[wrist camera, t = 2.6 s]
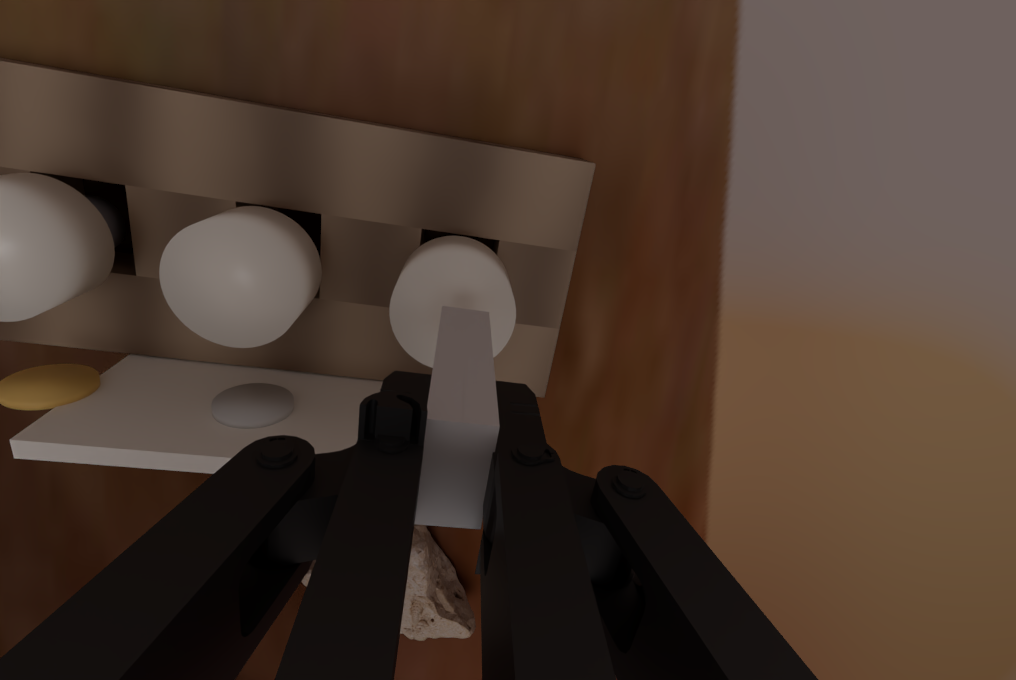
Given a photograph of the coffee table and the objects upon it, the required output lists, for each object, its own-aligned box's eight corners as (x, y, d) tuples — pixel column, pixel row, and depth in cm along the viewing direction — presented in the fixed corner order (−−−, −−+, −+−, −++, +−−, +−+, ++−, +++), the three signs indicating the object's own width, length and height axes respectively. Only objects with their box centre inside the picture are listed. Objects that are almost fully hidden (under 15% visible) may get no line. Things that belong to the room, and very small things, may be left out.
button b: (232, 290, 24) (166, 340, 19) (227, 187, 22) (152, 209, 17) (335, 303, 25) (300, 354, 20) (339, 204, 23) (301, 231, 18)
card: (111, 339, 27) (-69, 451, 18) (108, 319, 27) (-78, 424, 18) (469, 378, 30) (471, 493, 21) (471, 360, 29) (475, 470, 20)
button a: (46, 267, 23) (-80, 312, 18) (25, 156, 21) (-123, 170, 16) (159, 281, 24) (71, 329, 18) (148, 175, 22) (46, 194, 17)
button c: (401, 311, 25) (385, 364, 20) (410, 215, 24) (394, 244, 18) (496, 323, 26) (505, 377, 21) (512, 230, 24) (526, 263, 19)
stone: (422, 480, 33) (415, 539, 28) (482, 596, 37) (484, 662, 33) (295, 521, 33) (268, 585, 29) (370, 630, 38) (356, 700, 33)
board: (26, 314, 26) (-25, 337, 23) (-31, 52, 22) (-103, 43, 19) (537, 371, 30) (544, 397, 27) (581, 158, 25) (595, 163, 23)
